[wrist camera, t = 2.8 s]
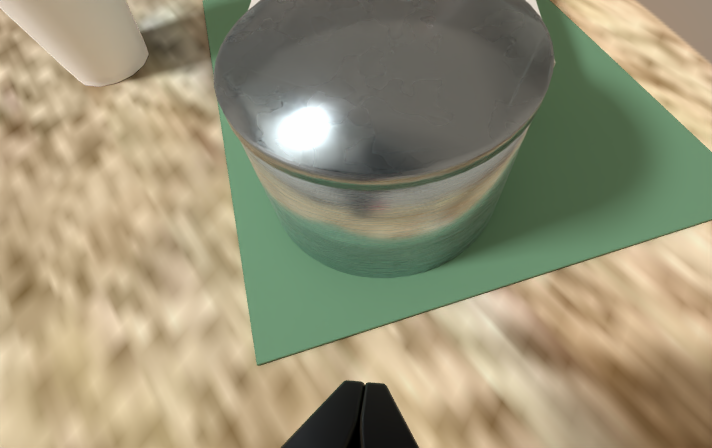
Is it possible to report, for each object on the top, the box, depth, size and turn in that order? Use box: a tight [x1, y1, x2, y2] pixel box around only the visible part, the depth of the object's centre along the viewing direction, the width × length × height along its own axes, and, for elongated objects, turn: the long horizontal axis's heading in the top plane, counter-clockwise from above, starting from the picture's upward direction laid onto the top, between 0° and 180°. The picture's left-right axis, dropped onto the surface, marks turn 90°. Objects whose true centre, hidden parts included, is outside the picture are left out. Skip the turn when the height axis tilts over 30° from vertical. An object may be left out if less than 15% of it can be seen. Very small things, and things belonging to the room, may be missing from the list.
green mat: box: [203, 0, 712, 366], centre depth 29 cm, size 35×28×1 cm
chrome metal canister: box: [214, 0, 554, 278], centre depth 20 cm, size 14×14×9 cm
